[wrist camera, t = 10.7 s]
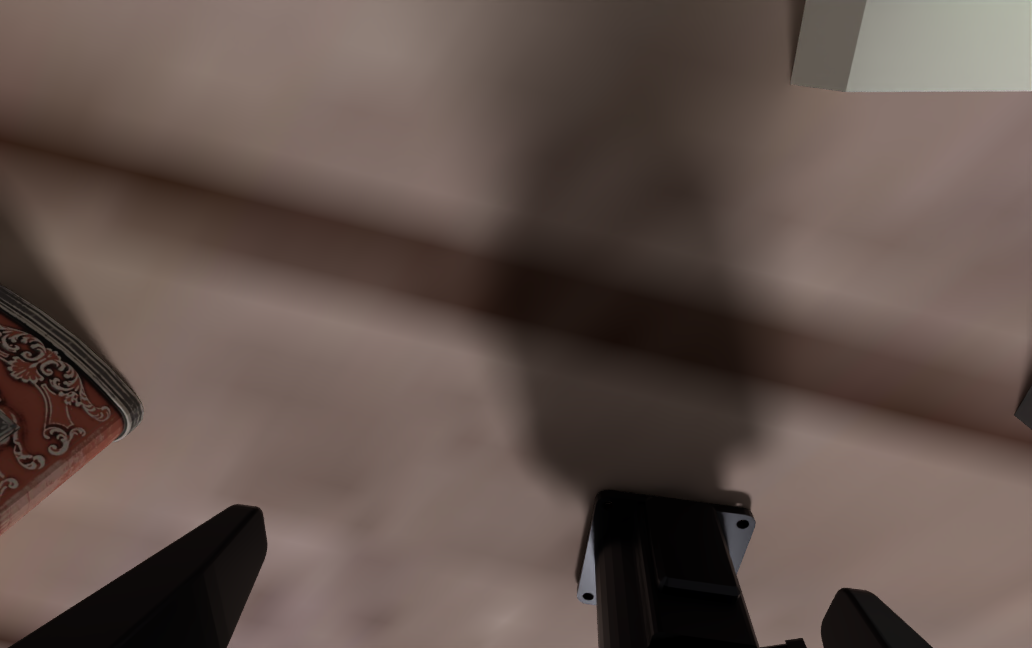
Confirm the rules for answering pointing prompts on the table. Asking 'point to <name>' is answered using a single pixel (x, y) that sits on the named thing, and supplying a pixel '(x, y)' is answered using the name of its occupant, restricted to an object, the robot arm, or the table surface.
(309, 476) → the table surface
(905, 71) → the base block
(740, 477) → the table surface
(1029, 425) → the charcoal block
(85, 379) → the lighter
